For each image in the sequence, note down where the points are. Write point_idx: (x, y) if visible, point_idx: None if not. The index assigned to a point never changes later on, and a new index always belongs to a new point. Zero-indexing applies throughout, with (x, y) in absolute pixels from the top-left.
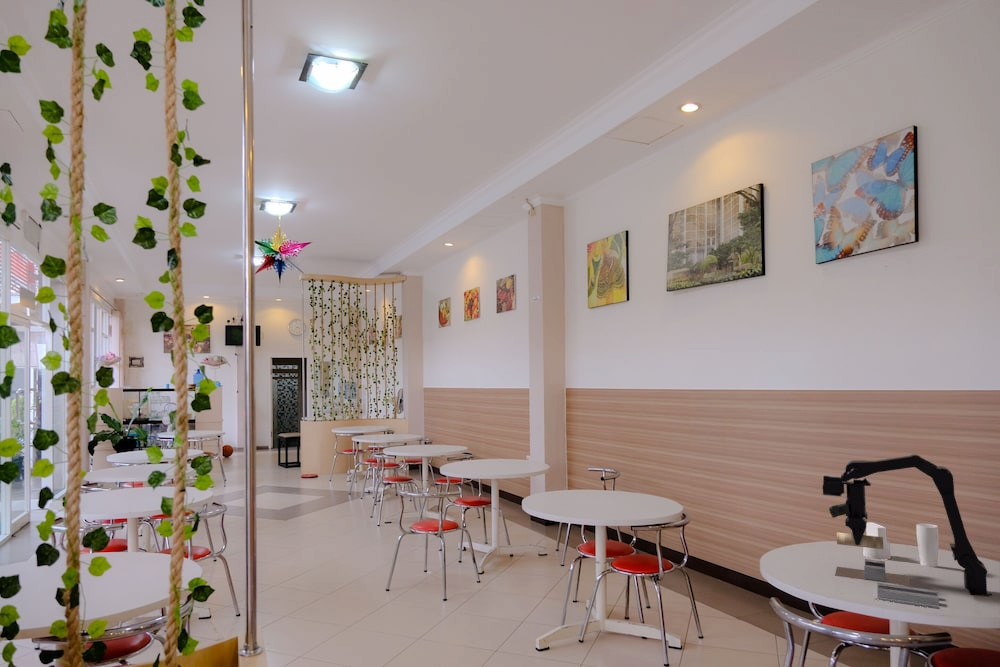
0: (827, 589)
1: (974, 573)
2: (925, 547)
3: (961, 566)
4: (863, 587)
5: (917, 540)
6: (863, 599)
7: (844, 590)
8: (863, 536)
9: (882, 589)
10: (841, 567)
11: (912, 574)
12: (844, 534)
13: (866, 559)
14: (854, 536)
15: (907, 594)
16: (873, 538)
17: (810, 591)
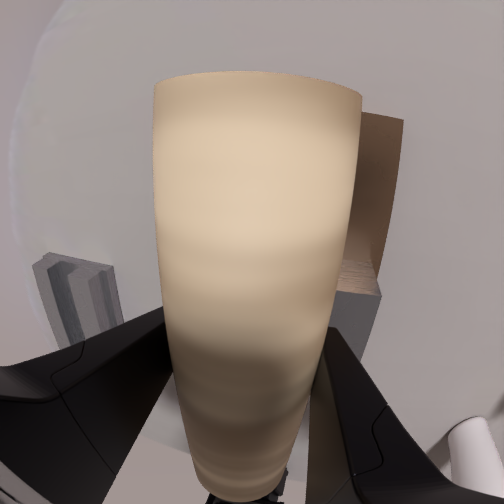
0: (60, 104)
1: (209, 496)
2: (462, 479)
3: (219, 502)
4: (134, 222)
5: (493, 478)
6: (36, 215)
7: (72, 157)
8: (196, 429)
9: (42, 280)
10: (394, 142)
11: (396, 401)
12: (175, 227)
13: (373, 302)
14: (98, 344)
15: (53, 331)
16: (194, 460)
17: (33, 68)
